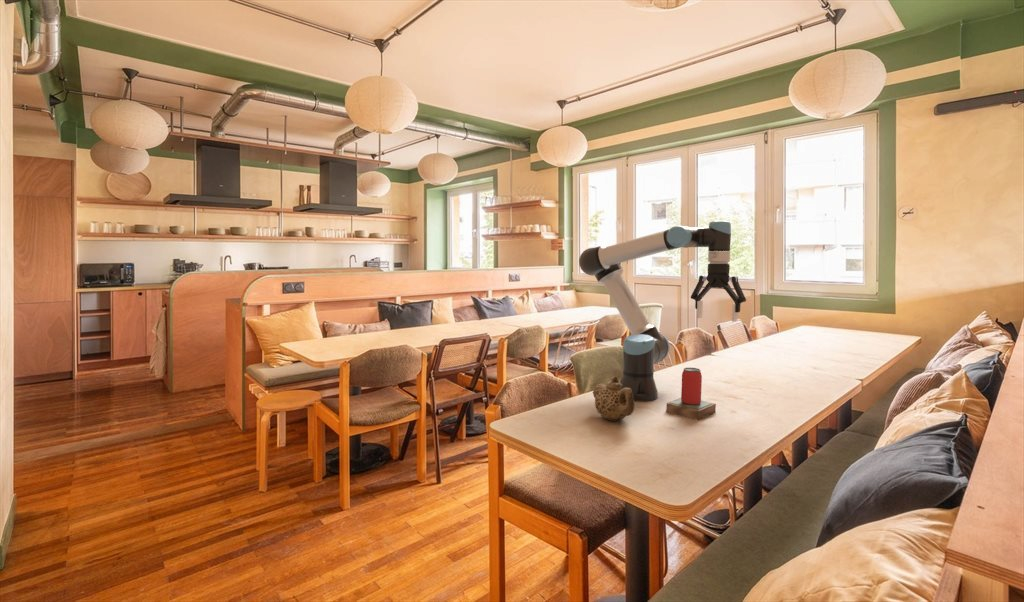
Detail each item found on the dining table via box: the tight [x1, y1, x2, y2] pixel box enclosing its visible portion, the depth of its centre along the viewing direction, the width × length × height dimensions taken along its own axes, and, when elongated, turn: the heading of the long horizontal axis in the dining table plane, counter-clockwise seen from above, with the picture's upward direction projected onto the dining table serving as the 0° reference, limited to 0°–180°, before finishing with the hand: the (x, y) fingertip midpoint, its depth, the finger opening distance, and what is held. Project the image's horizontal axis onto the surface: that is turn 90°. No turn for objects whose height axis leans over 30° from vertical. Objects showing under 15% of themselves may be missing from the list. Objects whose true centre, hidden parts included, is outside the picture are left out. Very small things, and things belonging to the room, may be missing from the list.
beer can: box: [680, 367, 703, 405], centre depth 173 cm, size 7×7×12 cm
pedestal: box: [666, 397, 717, 421], centre depth 173 cm, size 12×12×3 cm
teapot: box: [592, 375, 635, 422], centre depth 164 cm, size 21×12×15 cm, turn 23°
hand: (716, 319), depth 186 cm, fingers open, 13 cm apart
